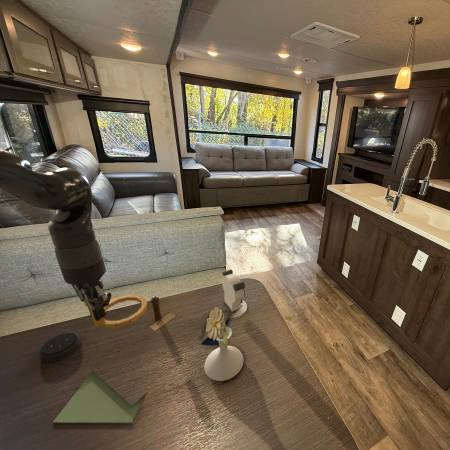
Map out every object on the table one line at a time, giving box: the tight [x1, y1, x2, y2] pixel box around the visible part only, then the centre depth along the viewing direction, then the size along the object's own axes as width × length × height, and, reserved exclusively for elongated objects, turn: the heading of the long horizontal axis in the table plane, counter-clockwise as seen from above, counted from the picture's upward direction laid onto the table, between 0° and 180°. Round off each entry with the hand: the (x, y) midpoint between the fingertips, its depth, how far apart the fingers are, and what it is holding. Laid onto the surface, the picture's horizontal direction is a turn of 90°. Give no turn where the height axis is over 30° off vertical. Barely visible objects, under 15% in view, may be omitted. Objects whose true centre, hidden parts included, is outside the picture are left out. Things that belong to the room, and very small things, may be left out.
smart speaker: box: [38, 331, 82, 363], centre depth 74 cm, size 9×9×4 cm
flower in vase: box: [204, 307, 244, 382], centre depth 70 cm, size 13×11×25 cm
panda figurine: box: [221, 268, 248, 319], centre depth 95 cm, size 12×11×15 cm
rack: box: [147, 295, 176, 332], centre depth 87 cm, size 8×8×11 cm
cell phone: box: [200, 317, 231, 346], centre depth 88 cm, size 7×14×1 cm, turn 4°
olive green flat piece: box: [52, 370, 149, 424], centre depth 65 cm, size 18×13×1 cm
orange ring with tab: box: [88, 294, 148, 329], centre depth 66 cm, size 11×12×8 cm
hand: (98, 316), depth 63 cm, fingers closed on orange ring with tab, 1 cm apart
